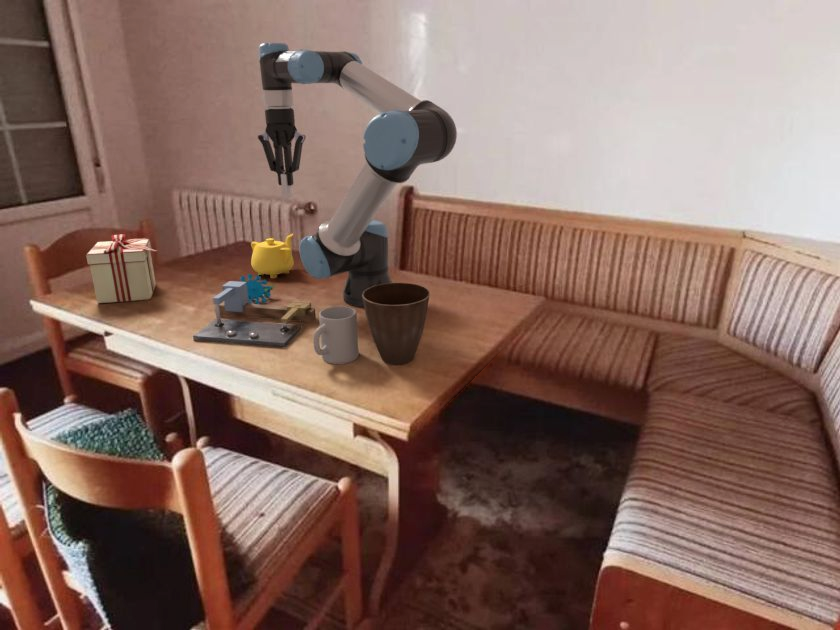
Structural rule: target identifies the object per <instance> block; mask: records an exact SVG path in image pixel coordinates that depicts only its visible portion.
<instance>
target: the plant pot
mask: <svg viewBox="0 0 840 630" xmlns="http://www.w3.org/2000/svg"><path fill="white" fill-rule="evenodd" d="M362 297H363V303H364V307H363V308H364V312H365V316H366V320H367V324H368V327H369V330H370V334H371V337H372V339H373V342H374V344H375V347H376V349H377V351H378V354H379V356H380V359H381V360H382V361H383V362H384V363H386V364H388V365H391V366H392V365H394V366H400V365H402V366H403V365H406V364H409V363H411V362H412V361H413V360H414V358H415V356H416V353H417V351H418V348H419V345H420V342H421V340H422V336H423V332H424V328H425V325H426V320H427V319H426V318H427V313H428V308H429V301H430V300H429V299H430V291H429V290H428V288H426V287H424V286H422V285H419V284H416V283H409V282H392V283H386V284H380V285H375V286H372V287H370V288H368V289H366V290H365V291H364V292H363V293H362Z"/></svg>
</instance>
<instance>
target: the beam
mask: <svg viewBox="0 0 840 630" xmlns="http://www.w3.org/2000/svg"><path fill="white" fill-rule="evenodd" d="M287 306H288V305H287ZM287 306H284V305H272V304H270V305H269V304H254V303H251V304H245V305H244V306H243V312H234V311H225V306H224V301H223V302H222V303H221V304H219V310H220V316H225V317H237V318H252V319H253V318H254V319H264V320H266V319H268V320H279V321H281V318H282V317H283V316H284V315H285V314H286V313H287ZM214 312H215V313H216V311H215V310H214ZM316 317H317V315H316V308H315V307H311V308H308V309H307V310H306V316H305V317H304V316H294V317H293V318H292V319H291V320H290V321H294V322H304V323H305V322H309V323H313V322H314V321H315V320H316V319H317V318H316Z"/></svg>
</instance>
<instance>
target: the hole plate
mask: <svg viewBox="0 0 840 630" xmlns="http://www.w3.org/2000/svg"><path fill="white" fill-rule="evenodd" d="M286 326H287V328H286V329H283V327H282V323H272V322H271V323H270V322H258V321H246V320H234V319H222V318H221V324H217V318H214V320H212V321H211V322H210V323H208V324H207V325H205V326H204V327H202V329H200V330H199V331H197V332H196V333H195V334H193V336H192V338H193V341H198V342H199V341H200V342H209V343H210V342H211V343H223V344H224V343H225V344H237V345H246V346H247V345H248V346H258V347H259V346H261V347H270V348H271V347H272V348H283V349H285V348H286V347H287V346H288V345H289V344H290V343H291V341H292V340H294V339H295V337H296V336H297V335H298V334H299V333H300V332H301V331H302V329H303V328H302V325H299V324H289V323H286Z"/></svg>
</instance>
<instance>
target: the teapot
mask: <svg viewBox="0 0 840 630" xmlns="http://www.w3.org/2000/svg"><path fill="white" fill-rule="evenodd" d="M293 236H294V233H290V234H289V235H287V236H286V238H285V241H284V242H283V241H279V240H275V238H273V237H272V238H271V237H270V238H266V239H265V241H262V242H258V241H251V243H250V247H251V249H252V255H251V261H250V264H251V265H250V266H251V267H252V269H253V270H254V271H255V272H256V273H257V275H262V276H265V275H269V278H270V279H277V278H278V275H279V274H284V275H285V274H286V275H287V274H290V271H291V270H292V269H293V266H294V263H295V262H294V257H293V250H292V241H291V239H292V237H293ZM264 274H265V275H264Z"/></svg>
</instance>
